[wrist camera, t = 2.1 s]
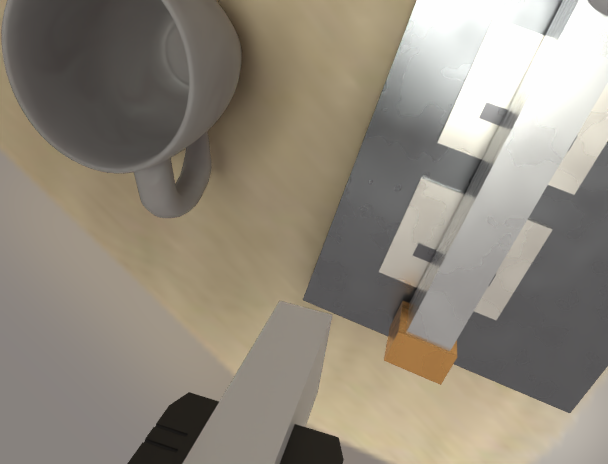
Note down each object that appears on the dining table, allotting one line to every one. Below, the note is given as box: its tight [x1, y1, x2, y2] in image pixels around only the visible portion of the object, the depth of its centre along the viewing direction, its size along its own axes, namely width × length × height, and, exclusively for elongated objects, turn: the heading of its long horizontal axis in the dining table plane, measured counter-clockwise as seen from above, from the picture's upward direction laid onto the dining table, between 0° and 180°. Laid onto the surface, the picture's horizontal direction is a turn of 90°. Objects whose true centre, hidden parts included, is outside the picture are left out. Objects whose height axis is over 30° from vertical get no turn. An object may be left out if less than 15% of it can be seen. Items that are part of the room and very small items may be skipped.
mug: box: [2, 0, 242, 218], centre depth 25 cm, size 12×9×10 cm
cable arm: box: [384, 0, 608, 385], centre depth 23 cm, size 22×4×4 cm, turn 162°
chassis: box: [303, 0, 608, 413], centre depth 26 cm, size 17×22×2 cm
